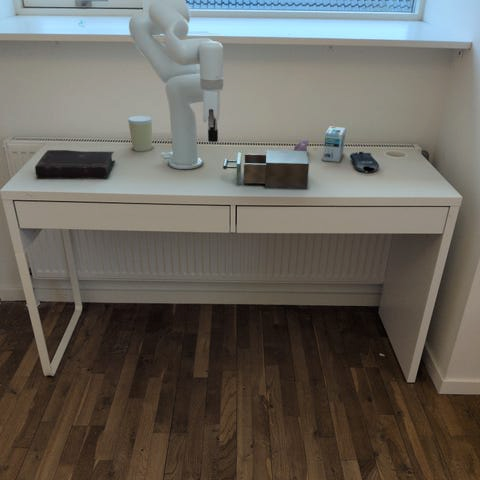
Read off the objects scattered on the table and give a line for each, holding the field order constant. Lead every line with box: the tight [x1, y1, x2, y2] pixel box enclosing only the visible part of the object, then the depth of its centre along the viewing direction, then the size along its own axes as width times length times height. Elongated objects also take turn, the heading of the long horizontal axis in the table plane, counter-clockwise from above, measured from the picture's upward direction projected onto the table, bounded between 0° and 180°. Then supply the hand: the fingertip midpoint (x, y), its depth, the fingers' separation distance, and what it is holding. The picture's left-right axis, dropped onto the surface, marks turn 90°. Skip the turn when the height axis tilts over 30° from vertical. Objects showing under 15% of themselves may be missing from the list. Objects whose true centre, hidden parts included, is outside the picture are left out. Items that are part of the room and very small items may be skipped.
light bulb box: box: [322, 125, 347, 163], centre depth 213 cm, size 11×7×11 cm, turn 163°
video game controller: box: [293, 138, 310, 151], centre depth 218 cm, size 10×5×7 cm, turn 168°
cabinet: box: [264, 149, 310, 190], centre depth 192 cm, size 15×14×9 cm
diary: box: [34, 149, 116, 179], centre depth 199 cm, size 19×25×5 cm
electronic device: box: [349, 151, 380, 173], centre depth 207 cm, size 9×6×15 cm
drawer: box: [222, 152, 266, 185], centre depth 192 cm, size 18×12×7 cm
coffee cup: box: [127, 115, 153, 152], centre depth 220 cm, size 9×9×12 cm
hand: (213, 141), depth 187 cm, fingers closed
